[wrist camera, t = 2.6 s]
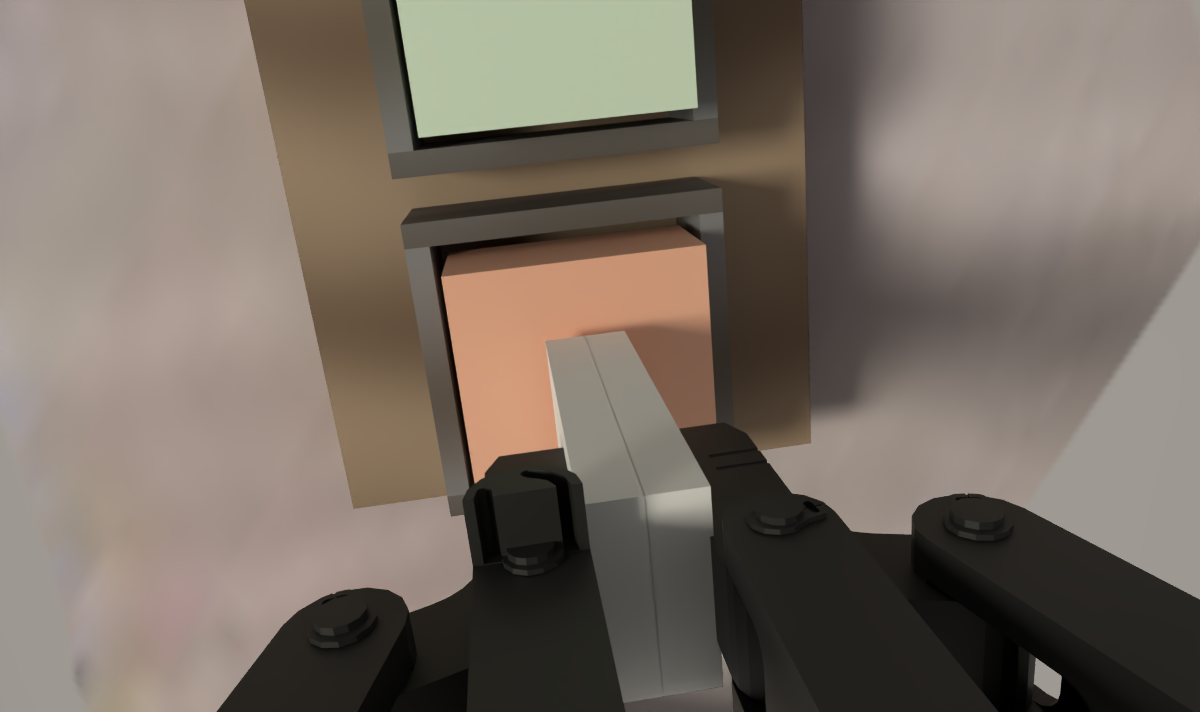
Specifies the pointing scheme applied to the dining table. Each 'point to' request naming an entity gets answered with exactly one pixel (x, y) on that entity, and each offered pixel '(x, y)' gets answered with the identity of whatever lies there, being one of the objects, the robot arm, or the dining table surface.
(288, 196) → the button panel
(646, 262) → the terracotta button
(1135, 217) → the dining table surface
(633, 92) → the sage button
